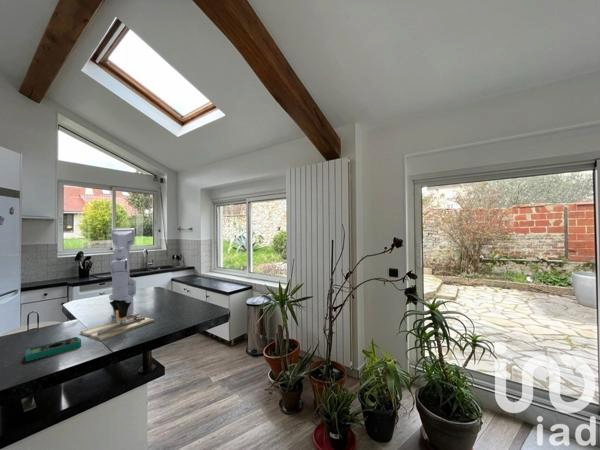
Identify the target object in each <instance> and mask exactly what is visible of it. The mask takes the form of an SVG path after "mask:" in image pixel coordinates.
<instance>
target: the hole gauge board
mask: <svg viewBox="0 0 600 450" xmlns="http://www.w3.org/2000/svg"><path fill="white" fill-rule="evenodd" d="M126 320H129V322H127V323H123V324H120V323H119V322H116V319H115V320H113V321H109V322H106V323H103V324H100V325H96V326H93V327H90V328H87V329H84V330H80V332H79V333H80V334H81V335H83V336H86V337H88V338H91V339H95V340H97V341H101V342H102V341H104V340H106V339H109V338H112V337H115V336H118V335H121V334H123V333H126V332H129V331H132V330H135V329H137V328H140V327H142V326H145V325H148V324H151V323H154V322H155V319H154V318H150V317H146V316H145V317H144V316H143V315H140V313H139V312H138V313H134V314H131V315H130V316H127V317H126Z"/></svg>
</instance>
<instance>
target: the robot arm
mask: <svg viewBox="0 0 600 450" xmlns="http://www.w3.org/2000/svg"><path fill="white" fill-rule="evenodd" d="M135 234H136V233H135V228H133V227H131V228H112V229H111V240H112V241H111V242H112V244H113V246H115V247H116V248H115V249H114V250H113V254H112V261H110V264H109V270H110V276H111V278H112V279H111V281H112V283H111V285H112V288H111V289H112V290H111V292H112V293H111V294H109V296H108V297H109V300H110V301H109V304H110V305H111V307H112V313H111V315H110V316H112V317H115V318H116V310H118V309H119V313H120V318H124V317H128V316H130V315H131V314H134V313H139V312H138V311H135V310H134V305H135V304H134V296H136V295H137V282H136V280H135V279H134V278H133V277H130V250H131V246H134V245H135V242H136V235H135Z"/></svg>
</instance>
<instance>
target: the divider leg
mask: <svg viewBox="0 0 600 450" xmlns="http://www.w3.org/2000/svg"><path fill="white" fill-rule="evenodd" d="M115 320H116V322H119V323H120V324H123V323H127V322H129V320H126V317H124V318H120V313H119V309H118V310H116V317H115Z"/></svg>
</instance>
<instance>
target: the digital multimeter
mask: <svg viewBox="0 0 600 450" xmlns="http://www.w3.org/2000/svg"><path fill="white" fill-rule="evenodd" d="M81 346H82V339H81V338H80V337H78V336H74V337H70V338H66V339H63V340H59V341H56V342H55V341H54V342H51V343H46V344H43V345H38V346H34V347H31V348H28V349H26V350H25V352H24V353H25V358H24V359H25V362H26V361H29V362H31V361H30V360H33V361H35V360H34V359H36V360H39V359H38V358H40V359H43V358H47V357H51V356H54V355H57V354H58V355H59V354H60V353H64V352H69V351H72V350H76V349H80V348H81ZM50 355H51V356H50ZM46 356H47V357H46ZM42 357H43V358H42Z"/></svg>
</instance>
